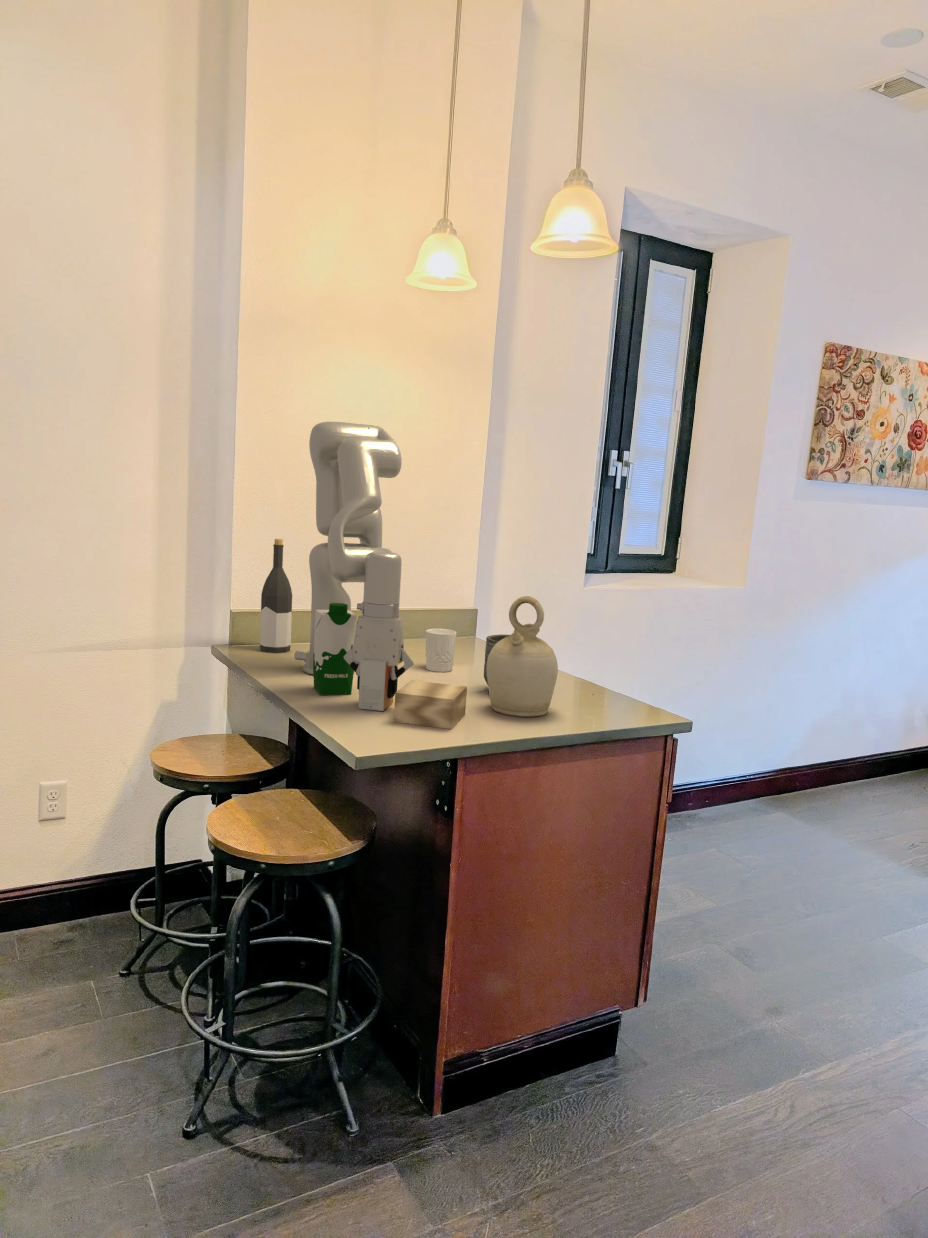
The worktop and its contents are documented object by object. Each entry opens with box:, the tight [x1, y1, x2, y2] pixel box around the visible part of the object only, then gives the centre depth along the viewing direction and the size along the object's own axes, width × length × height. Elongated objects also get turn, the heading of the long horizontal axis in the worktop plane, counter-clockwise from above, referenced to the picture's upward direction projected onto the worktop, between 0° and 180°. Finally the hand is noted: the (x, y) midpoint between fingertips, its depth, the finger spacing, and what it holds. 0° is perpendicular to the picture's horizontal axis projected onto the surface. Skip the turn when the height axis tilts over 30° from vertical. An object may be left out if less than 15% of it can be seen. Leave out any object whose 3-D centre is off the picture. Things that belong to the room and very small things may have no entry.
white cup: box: [425, 628, 457, 673], centre depth 227 cm, size 8×8×10 cm
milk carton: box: [312, 603, 357, 696], centre depth 196 cm, size 9×9×20 cm
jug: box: [486, 595, 559, 718], centre depth 190 cm, size 15×16×25 cm
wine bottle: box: [259, 538, 293, 654], centre depth 236 cm, size 8×8×30 cm
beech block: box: [393, 679, 468, 730], centre depth 180 cm, size 12×12×6 cm
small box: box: [358, 659, 395, 712], centre depth 187 cm, size 8×6×10 cm
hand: (376, 694), depth 187 cm, fingers closed on small box, 5 cm apart
